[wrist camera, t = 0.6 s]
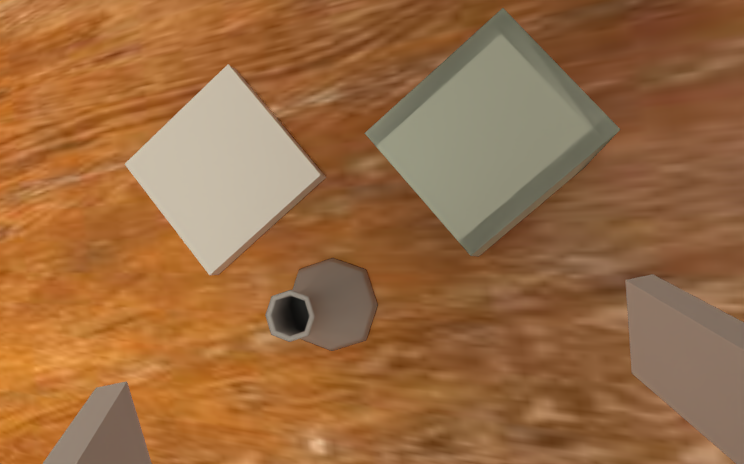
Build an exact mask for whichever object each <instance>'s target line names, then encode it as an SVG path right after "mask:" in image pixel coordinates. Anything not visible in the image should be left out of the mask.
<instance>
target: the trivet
mask: <svg viewBox="0 0 744 464" xmlns="http://www.w3.org/2000/svg"><path fill="white" fill-rule="evenodd" d="M125 165H126V167H127V168H128V169H129V170H130V172H131V173H132V174H133V176H134V177H135V178H136V180H137V181H138V182H139V184H140V185H141V186H142V187H143V189H144V190H145V191H146V193H147V194H148V195H149V197H150V198H151V199H152V201H153V202H154V203H155V204H156V206H157V207H158V208H159V210H160V211H161V212H162V214H163V215H164V216H165V218H166V219H167V220H168V221H169V223H170V224H171V225H172V227H173V228H174V229H175V231H176V232H177V233H178V235H179V236H180V237H181V238H182V240H183V241H184V242H185V244H186V245H187V246H188V248H189V249H190V250H191V252H192V253H193V254H194V255H195V257H196V258H197V259H198V261H199V262H200V263H201V265H202V266H203V267H204V269H205V270H206V271H207V272H208V274H209V275H219V274H220V273H221V272H222V271H223V270H224V269H225V268H226V267H228V266H229V265H230V264H231V263H232V262H233V261H234V260H235V259H236V258H238V257H239V256H240V255H241V254H242V253H243V252H244V251H245V250H246V249H247V248H249V247H250V246H251V245H252V244H253V243H254V242H255V241H256V240H257V239H259V238H260V237H261V236H262V235H263V234H264V233H265V232H266V231H267V230H269V229H270V228H271V227H272V226H273V225H274V224H275V223H276V222H277V221H278V220H280V219H281V218H282V217H283V216H284V215H285V214H286V213H287V212H288V211H290V210H291V209H292V208H293V207H294V206H295V205H296V204H297V203H298V202H299V201H301V200H302V199H303V198H304V197H305V196H306V195H307V194H308V193H309V192H311V191H312V190H313V189H314V188H315V187H316V186H317V185H318V184H319V183H321V182H322V181H323V180H324V179H325V178H326V177H325V175H324V174H323V173H322V172H321V171H320V169H319V168H318V167H317V166H316V165H315V163H314V162H313V161H312V160H311V159H310V157H309V156H308V155H307V154H306V153H305V152H304V150H303V149H302V148H301V147H300V146H299V144H298V143H297V142H296V141H295V140H294V138H293V137H292V136H291V135H290V134H289V132H288V131H287V130H286V129H285V128H284V126H283V125H282V124H281V123H280V122H279V120H278V119H277V118H276V117H275V116H274V114H273V113H272V112H271V111H270V110H269V109H268V107H267V106H266V105H265V104H264V103H263V101H262V100H261V99H260V98H259V97H258V95H257V94H256V93H255V92H254V91H253V89H252V88H251V87H250V86H249V85H248V83H247V82H246V81H245V80H244V79H243V77H242V76H241V75H240V74H239V73H238V71H237V70H236V69H234V68H233V67H231V66H230V65H229V64H228V65H227V66H226V67H225V68H224V69H223V70H222V71H221V72H219V73H218V74H217V75H216V76H215V77H214V78H213V79H212V80H211V81H210V82H209V83H208V84H207V85H206V86H205V87H204V88H203V89H202V90H201V91H200V92H199V93H198V94H197V95H196V96H195V97H194V98H193V99H192V100H190V101H189V102H188V103H187V104H186V105H185V106H184V107H183V108H182V109H181V110H180V111H179V112H178V113H177V114H176V115H175V116H174V117H173V118H172V119H171V120H170V121H169V122H168V123H167V124H166V125H165V126H164V127H162V128H161V129H160V130H159V131H158V132H157V133H156V134H155V135H154V136H153V137H152V138H151V139H150V140H149V141H148V142H147V143H146V144H145V145H144V146H143V147H142V148H141V149H140V150H139V151H138V152H137V153H136V154H135V155H133V156H132V157H131V158H130V159H129V160H128V161H127V162H126V163H125Z"/></svg>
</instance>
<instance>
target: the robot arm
mask: <svg viewBox="0 0 744 464" xmlns="http://www.w3.org/2000/svg"><path fill="white" fill-rule="evenodd" d="M625 281H626V295H627V310H628V324H629V339H630V353H631V368H632V374H633V375H634V376H635V377H637V378H638V379H639V380H640V381H641V382H642V383H644V384H645V385H646V386H647V387H648V388H649V389H651V390H652V391H653V392H654V393H655V394H656V395H657V396H659V397H660V398H661V399H662V400H663V401H664V402H666V403H667V404H668V405H669V406H670V407H671V408H672V409H674V410H675V411H676V412H677V413H678V414H679V415H681V416H682V417H683V418H684V419H685V420H686V421H687V422H689V423H690V424H691V425H692V426H693V427H694V428H696V429H697V430H698V431H699V432H700V433H701V434H702V435H704V436H705V437H706V438H707V439H708V440H709V441H711V442H712V443H713V444H714V445H715V446H716V447H718V448H719V449H720V450H721V451H722V452H723V453H724V454H726V455H727V456H728V457H729V458H730V459H731V460H733V461H734V462H735V463H736V464H744V322H742V321H740V320H738V319H736V318H734V317H733V316H731V315H729V314H727V313H725V312H723V311H721V310H719V309H717V308H716V307H714V306H712V305H710V304H708V303H706V302H704V301H702V300H700V299H698V298H697V297H695V296H693V295H691V294H689V293H687V292H685V291H683V290H681V289H680V288H678V287H676V286H674V285H672V284H670V283H668V282H666V281H664V280H663V279H661V278H659V277H657V276H655V275H653V274H652V275H648V276H643V277H638V278H633V279H628V280H625ZM43 464H152V463H151V460H150V457H149V453H148V450H147V447H146V443H145V440H144V437H143V433H142V430H141V427H140V423H139V420H138V417H137V413H136V410H135V407H134V403H133V400H132V397H131V393H130V390H129V387H128V383H127V382H122V383H117V384H112V385H108V386H103V387H98V388H96V389H95V390H94V392H93V393H92V394H91V396H90V397H89V399H88V400H87V401H86V403H85V404H84V406H83V407H82V409H81V410H80V411H79V413H78V414H77V416H76V417H75V418H74V420H73V421H72V423H71V424H70V426H69V427H68V428H67V430H66V431H65V433H64V434H63V435H62V437H61V438H60V440H59V441H58V443H57V444H56V445H55V447H54V448H53V450H52V451H51V452H50V454H49V455H48V457H47V458H46V460H45V461H44V462H43Z"/></svg>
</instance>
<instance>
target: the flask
mask: <svg viewBox="0 0 744 464" xmlns="http://www.w3.org/2000/svg"><path fill="white" fill-rule="evenodd" d="M377 306H378V305H377V301H376V298H375V295H374V292H373V289H372V286H371V283H370V280H369V277H368V274H367V271H366V269H363V268H360V267H357V266H354V265H351V264H349V263H346V262H343V261H340V260H337V259H334V258H331V259H328V260H325V261H322V262H319V263H316V264H313V265H310V266H307V267H305V268H302V269H299V272H298V275H297V278H296V281H295V284H294V287H293V290H289V291H286V292H283V293H280V294H277V295H274V296H272V297H271V300H270V303H269V306H268V309H267V312H266V319H267V322H268V325H269V329H270V332H271V335H273V336H276V337H279V338H281V339H284V340H286V341H289V342H290V341H294V340H297V339H302V340H304V341H307V342H310V343H312V344H315V345H318V346H320V347H323V348H325V349H328V350H331V351H334V350H337V349H340V348H343V347H347V346H350V345H353V344H356V343H359V342H362V341H366V339H367V336H368V333H369V330H370V327H371V324H372V321H373V318H374V315H375V312H376V309H377Z"/></svg>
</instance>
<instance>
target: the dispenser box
mask: <svg viewBox="0 0 744 464" xmlns="http://www.w3.org/2000/svg"><path fill="white" fill-rule="evenodd" d="M619 130H620V129H619V128H618V127H617V126H616V124H615V123H614V122H613V121H612V120H611V119H610V118H609V117H608V116H607V115H606V114H605V113H604V112H603V111H602V110H601V109H600V108H599V107H598V106H597V105H596V104H595V103H594V102H593V101H592V100H591V99H590V98H589V97H588V95H587V94H586V93H585V92H584V91H583V90H582V89H581V88H580V87H579V86H578V85H577V84H576V83H575V82H574V81H573V80H572V79H571V78H570V77H569V76H568V75H567V74H566V73H565V72H564V71H563V70H562V69H561V68H560V67H559V65H558V64H557V63H556V62H555V61H554V60H553V59H552V58H551V57H550V56H549V55H548V54H547V53H546V52H545V51H544V50H543V49H542V48H541V47H540V46H539V45H538V44H537V43H536V42H535V41H534V40H533V39H532V38H531V36H530V35H529V34H528V33H527V32H526V31H525V30H524V29H523V28H522V27H521V26H520V25H519V24H518V23H517V22H516V21H515V20H514V19H513V18H512V17H511V16H510V15H509V14H508V13H507V12H506V11H505V10H504V9H503V8H502V9H501V10H500V11H499V12H498V13H497V14H496V15H495V16H493V17H492V18H491V19H490V20H489V21H488V22H487V23H486V24H485V25H484V26H482V27H481V28H480V29H479V30H478V31H477V32H476V33H475V34H474V35H472V36H471V37H470V38H469V39H468V40H467V41H466V42H465V43H464V44H463V45H461V46H460V47H459V48H458V49H457V50H456V51H455V52H454V53H453V54H452V55H450V56H449V57H448V58H447V59H446V60H445V61H444V62H443V63H442V64H440V65H439V66H438V67H437V68H436V69H435V70H434V71H433V72H432V73H431V74H429V75H428V76H427V77H426V78H425V79H424V80H423V81H422V82H421V83H420V84H418V85H417V86H416V87H415V88H414V89H413V90H412V91H411V92H410V93H408V94H407V95H406V96H405V97H404V98H403V99H402V100H401V101H400V102H399V103H397V104H396V105H395V106H394V107H393V108H392V109H391V110H390V111H389V112H388V113H386V114H385V115H384V116H383V117H382V118H381V119H380V120H379V121H378V122H376V123H375V124H374V125H373V126H372V127H371V128H370V129H369V130H368V131H367V132H365V134H366V135H367V137H368V138H369V139H370V140H371V141H372V142H373V144H374V145H375V146H376V147H377V148H378V149H379V150H380V152H381V153H382V154H383V155H384V156H385V157H386V159H387V160H388V161H389V162H390V163H391V164H392V165H393V167H394V168H395V169H396V170H397V171H398V172H399V174H400V175H401V176H402V177H403V178H404V179H405V180H406V182H407V183H408V184H409V185H410V186H411V187H412V189H413V190H414V191H415V192H416V193H417V194H418V195H419V197H420V198H421V199H422V200H423V201H424V202H425V204H426V205H427V206H428V207H429V208H430V209H431V210H432V212H433V213H434V214H435V215H436V216H437V217H438V219H439V220H440V221H441V222H442V223H443V224H444V225H445V227H446V228H447V229H448V230H449V231H450V232H451V234H452V235H453V236H454V237H455V238H456V239H457V240H458V242H459V243H460V244H461V245H462V246H463V247H464V249H465V250H466V251H467V252H468V253H469V254H470V256H480V255H481V254H482V253H484V252H485V251H486V250H487V249H488V248H490V247H491V246H492V245H493V244H494V243H495V242H497V241H498V240H499V239H500V238H501V237H503V236H504V235H505V234H506V233H507V232H508V231H510V230H511V229H512V228H513V227H514V226H516V225H517V224H518V223H519V222H520V221H522V220H523V219H524V218H525V217H526V216H527V215H529V214H530V213H531V212H532V211H533V210H535V209H536V208H537V207H538V206H539V205H541V204H542V203H543V202H544V201H545V200H546V199H548V198H549V197H550V196H551V195H552V194H554V193H555V192H556V191H557V190H558V189H560V188H561V187H562V186H563V185H564V184H565V183H567V182H568V181H569V180H570V179H571V178H573V177H574V176H575V175H576V174H577V173H579V172H580V171H581V170H582V169H583V168H584V167H585V166H586V165H587V164H588V163H589V162H590V161H591V160H592V159H593V158H594V157H595V156H596V155H597V154H598V153H599V152H600V151H601V150H602V148H603V147H604V146H605V145H606V144H607V143H608V142H609V141H610V140H611V139H612V138H613V137H614V136H615V135H616V134H617V133H618V131H619Z"/></svg>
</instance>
